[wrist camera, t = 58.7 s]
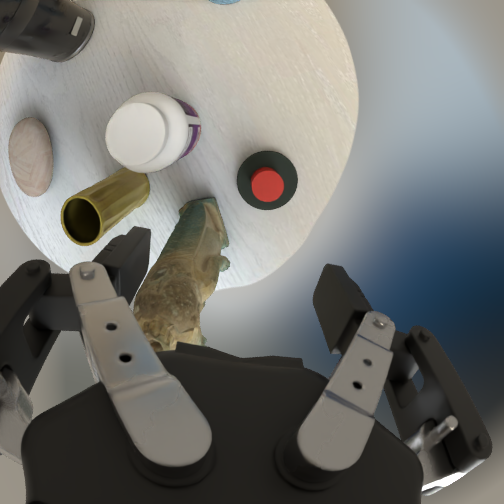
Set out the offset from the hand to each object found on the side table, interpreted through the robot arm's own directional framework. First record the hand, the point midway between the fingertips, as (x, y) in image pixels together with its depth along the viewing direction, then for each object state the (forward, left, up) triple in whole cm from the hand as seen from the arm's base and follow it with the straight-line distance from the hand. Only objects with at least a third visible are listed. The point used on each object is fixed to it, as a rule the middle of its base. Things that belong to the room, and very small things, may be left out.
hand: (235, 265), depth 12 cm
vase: (-9, -12, -26) cm, 30 cm away
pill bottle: (-10, -2, -26) cm, 28 cm away
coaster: (+4, +2, -26) cm, 26 cm away
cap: (+3, +2, -25) cm, 26 cm away
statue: (+3, -8, -26) cm, 28 cm away
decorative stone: (-25, -19, -26) cm, 41 cm away
